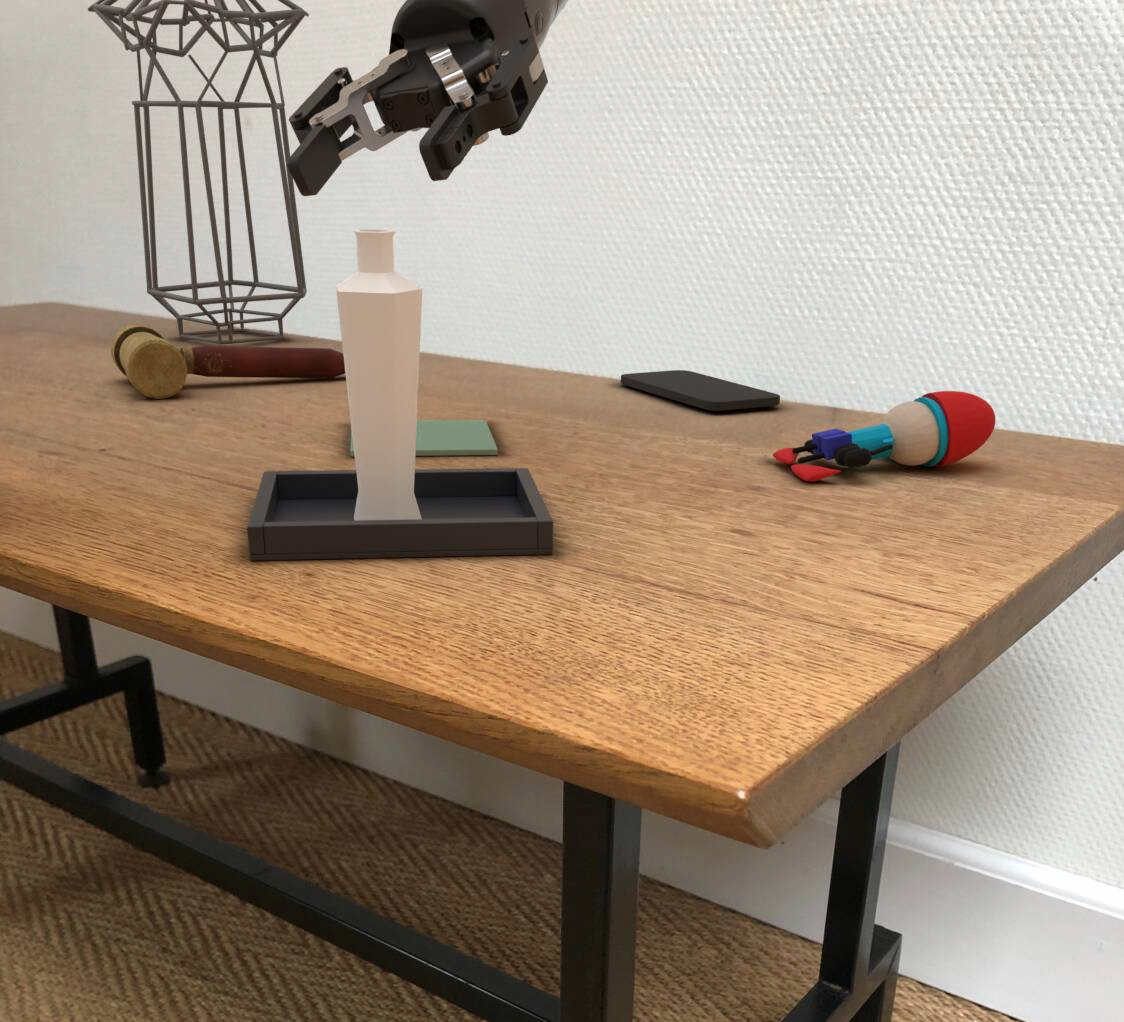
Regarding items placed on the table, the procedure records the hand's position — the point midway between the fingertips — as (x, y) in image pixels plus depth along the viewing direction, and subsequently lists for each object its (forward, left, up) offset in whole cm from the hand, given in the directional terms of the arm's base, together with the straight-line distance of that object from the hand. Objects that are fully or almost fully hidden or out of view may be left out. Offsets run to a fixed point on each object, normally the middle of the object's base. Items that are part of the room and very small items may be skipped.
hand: (363, 172), depth 67 cm
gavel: (-11, +40, -18) cm, 45 cm away
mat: (+3, +17, -18) cm, 25 cm away
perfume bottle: (0, -5, -18) cm, 18 cm away
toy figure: (+34, +7, -18) cm, 39 cm away
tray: (+1, -5, -18) cm, 19 cm away
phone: (+27, +33, -18) cm, 46 cm away
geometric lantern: (-15, +65, -18) cm, 69 cm away
